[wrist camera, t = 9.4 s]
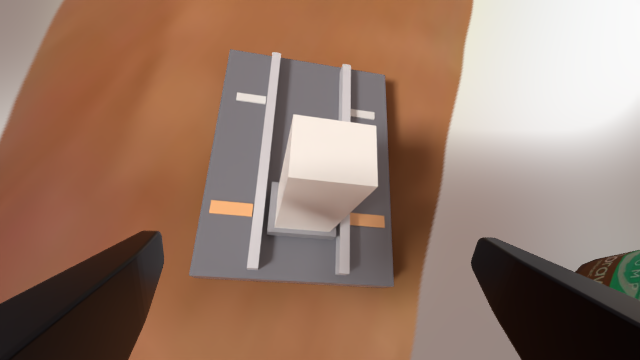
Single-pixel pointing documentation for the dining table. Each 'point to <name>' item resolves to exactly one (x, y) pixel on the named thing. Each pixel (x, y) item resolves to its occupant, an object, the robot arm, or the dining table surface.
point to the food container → (616, 272)
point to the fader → (322, 177)
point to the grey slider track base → (266, 166)
